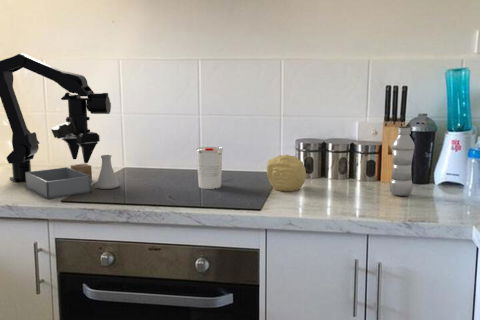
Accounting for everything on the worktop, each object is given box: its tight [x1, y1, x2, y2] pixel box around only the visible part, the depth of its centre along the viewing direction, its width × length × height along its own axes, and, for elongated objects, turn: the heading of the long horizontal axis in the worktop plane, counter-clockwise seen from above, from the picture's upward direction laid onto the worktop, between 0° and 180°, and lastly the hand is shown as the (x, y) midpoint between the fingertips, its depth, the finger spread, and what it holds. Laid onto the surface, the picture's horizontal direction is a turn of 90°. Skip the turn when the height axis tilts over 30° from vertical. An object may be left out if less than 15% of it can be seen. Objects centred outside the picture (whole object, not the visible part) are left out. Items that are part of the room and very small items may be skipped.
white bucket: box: [195, 146, 224, 190], centre depth 165 cm, size 10×8×12 cm
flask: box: [95, 154, 120, 190], centre depth 165 cm, size 7×7×10 cm
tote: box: [25, 166, 93, 200], centre depth 161 cm, size 18×13×5 cm
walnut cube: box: [70, 163, 93, 181], centre depth 175 cm, size 5×5×5 cm
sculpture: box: [266, 154, 307, 192], centre depth 162 cm, size 12×12×11 cm
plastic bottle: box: [389, 126, 415, 197], centre depth 153 cm, size 6×7×20 cm
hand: (80, 161), depth 175 cm, fingers open, 9 cm apart
